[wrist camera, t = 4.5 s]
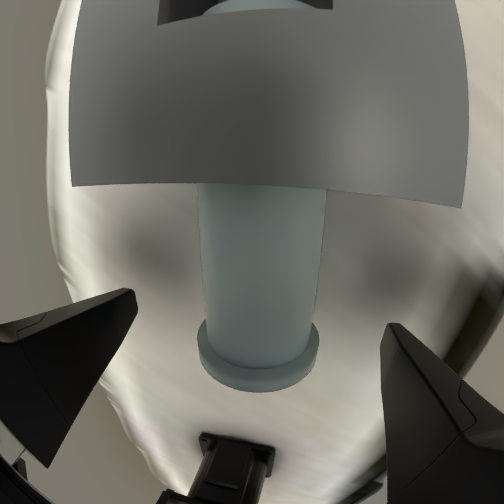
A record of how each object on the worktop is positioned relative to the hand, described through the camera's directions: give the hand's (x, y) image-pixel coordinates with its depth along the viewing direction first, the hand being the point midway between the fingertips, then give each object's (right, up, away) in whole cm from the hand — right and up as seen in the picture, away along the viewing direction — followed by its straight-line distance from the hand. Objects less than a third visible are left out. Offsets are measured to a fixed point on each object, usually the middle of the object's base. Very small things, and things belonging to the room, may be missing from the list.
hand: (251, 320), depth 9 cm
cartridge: (+1, +5, +2) cm, 5 cm away
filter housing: (+1, +10, 0) cm, 11 cm away
